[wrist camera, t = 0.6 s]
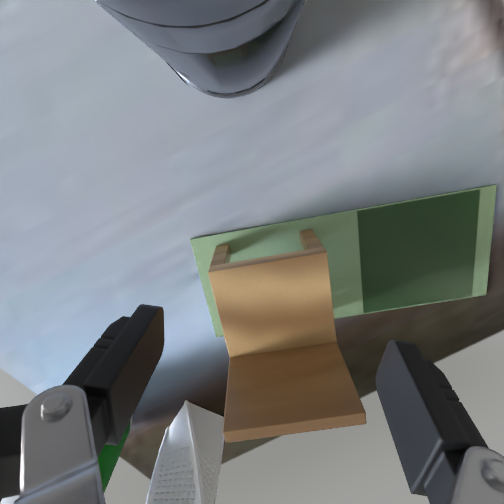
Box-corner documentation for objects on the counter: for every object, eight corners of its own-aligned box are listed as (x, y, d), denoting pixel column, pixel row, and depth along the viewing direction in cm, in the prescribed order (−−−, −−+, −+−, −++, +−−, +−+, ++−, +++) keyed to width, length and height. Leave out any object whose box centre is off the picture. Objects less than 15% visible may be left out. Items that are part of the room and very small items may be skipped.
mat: (190, 238, 29) (189, 239, 29) (495, 184, 27) (496, 184, 27) (216, 336, 33) (216, 337, 33) (484, 293, 31) (486, 294, 31)
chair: (216, 245, 29) (190, 326, 17) (312, 228, 28) (357, 299, 16) (235, 325, 32) (225, 443, 20) (322, 312, 32) (366, 424, 19)
